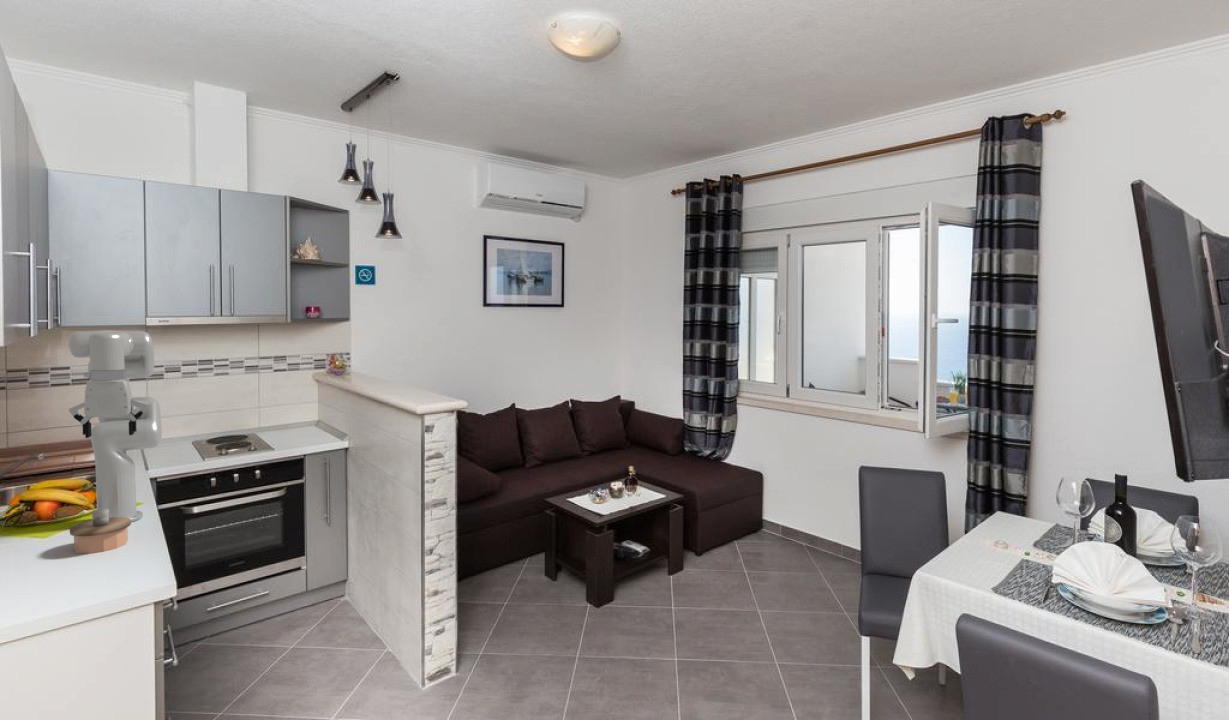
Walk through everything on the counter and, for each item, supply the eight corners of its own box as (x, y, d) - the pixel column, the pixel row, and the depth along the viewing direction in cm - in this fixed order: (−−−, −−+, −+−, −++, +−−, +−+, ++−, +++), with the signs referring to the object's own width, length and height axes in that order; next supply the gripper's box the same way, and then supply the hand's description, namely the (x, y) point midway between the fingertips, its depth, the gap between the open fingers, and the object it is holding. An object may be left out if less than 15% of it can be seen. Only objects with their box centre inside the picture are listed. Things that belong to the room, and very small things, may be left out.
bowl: (81, 542, 171) (80, 525, 170) (130, 536, 176) (130, 519, 176) (70, 556, 161) (69, 537, 161) (122, 548, 167) (121, 531, 166)
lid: (63, 539, 160) (62, 520, 159) (77, 524, 171) (76, 507, 171) (125, 531, 166) (125, 513, 166) (135, 518, 177) (134, 501, 177)
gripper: (63, 378, 164) (66, 440, 165) (143, 376, 172) (145, 435, 173) (71, 376, 170) (74, 436, 171) (148, 374, 179) (150, 431, 180)
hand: (110, 435), depth 172 cm, fingers open, 9 cm apart
